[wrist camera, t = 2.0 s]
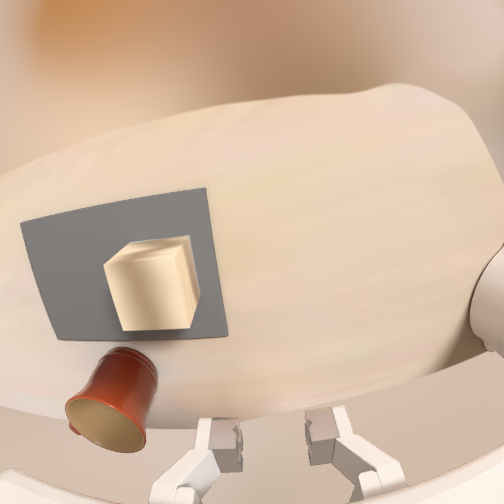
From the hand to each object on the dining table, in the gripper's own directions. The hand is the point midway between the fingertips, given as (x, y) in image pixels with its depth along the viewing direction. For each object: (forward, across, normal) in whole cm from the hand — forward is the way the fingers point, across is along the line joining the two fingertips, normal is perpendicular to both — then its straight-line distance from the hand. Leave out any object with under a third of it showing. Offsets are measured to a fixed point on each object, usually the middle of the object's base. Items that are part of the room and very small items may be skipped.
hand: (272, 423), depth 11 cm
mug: (+19, +18, +13) cm, 29 cm away
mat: (+19, +15, 0) cm, 24 cm away
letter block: (+19, +9, 0) cm, 21 cm away
